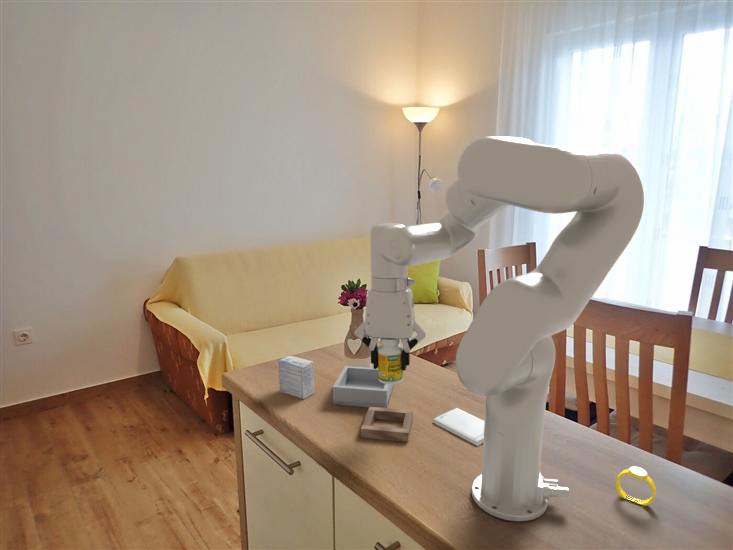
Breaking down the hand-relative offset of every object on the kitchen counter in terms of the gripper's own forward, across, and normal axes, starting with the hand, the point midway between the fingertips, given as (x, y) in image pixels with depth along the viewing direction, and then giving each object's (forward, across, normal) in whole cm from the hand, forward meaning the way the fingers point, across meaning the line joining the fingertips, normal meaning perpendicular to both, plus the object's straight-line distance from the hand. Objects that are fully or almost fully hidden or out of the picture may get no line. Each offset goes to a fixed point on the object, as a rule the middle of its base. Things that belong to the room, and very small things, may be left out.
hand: (390, 366), depth 109 cm
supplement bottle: (+3, 0, 0) cm, 3 cm away
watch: (+16, -44, +16) cm, 50 cm away
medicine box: (+14, +26, -14) cm, 32 cm away
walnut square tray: (+14, +1, -1) cm, 14 cm away
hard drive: (+15, -16, -4) cm, 23 cm away
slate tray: (+14, +9, -16) cm, 23 cm away
